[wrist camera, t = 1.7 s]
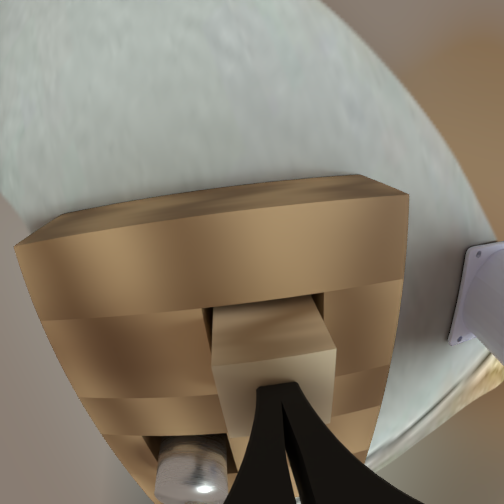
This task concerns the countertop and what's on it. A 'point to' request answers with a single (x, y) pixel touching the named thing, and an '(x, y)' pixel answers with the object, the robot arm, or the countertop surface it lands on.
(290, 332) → the peg maple
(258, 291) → the oak block
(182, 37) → the countertop surface
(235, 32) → the countertop surface
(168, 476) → the peg steel
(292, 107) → the countertop surface
